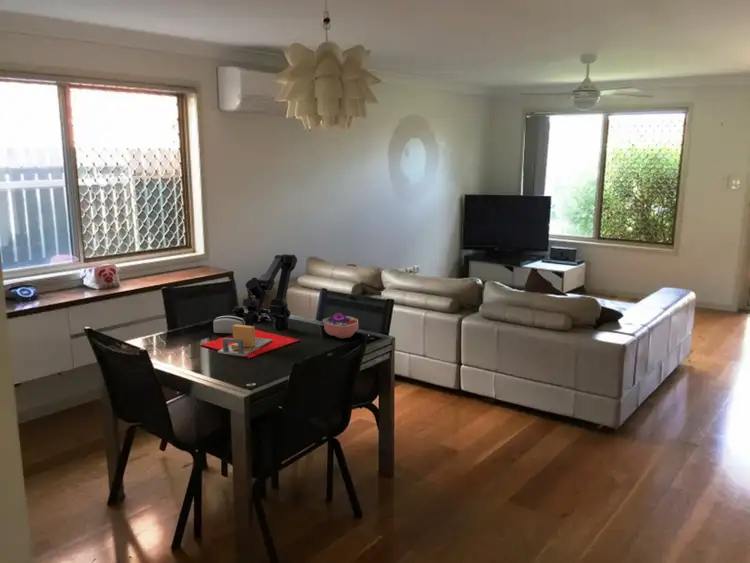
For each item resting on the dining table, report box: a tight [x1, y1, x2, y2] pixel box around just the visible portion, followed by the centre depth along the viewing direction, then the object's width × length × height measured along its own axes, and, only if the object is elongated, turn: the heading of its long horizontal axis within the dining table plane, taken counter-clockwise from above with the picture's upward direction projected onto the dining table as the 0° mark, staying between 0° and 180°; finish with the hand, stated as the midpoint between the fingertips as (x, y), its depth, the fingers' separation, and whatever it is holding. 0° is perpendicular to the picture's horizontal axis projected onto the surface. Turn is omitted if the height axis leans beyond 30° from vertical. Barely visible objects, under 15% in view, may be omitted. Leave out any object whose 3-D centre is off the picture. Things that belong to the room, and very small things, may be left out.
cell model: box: [322, 312, 359, 339], centre depth 312 cm, size 17×20×11 cm
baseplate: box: [217, 336, 273, 357], centre depth 298 cm, size 24×14×7 cm, turn 159°
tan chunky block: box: [230, 324, 256, 350], centre depth 293 cm, size 9×10×9 cm
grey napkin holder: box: [212, 315, 245, 334], centre depth 321 cm, size 17×5×10 cm, turn 82°
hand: (246, 329), depth 298 cm, fingers closed
